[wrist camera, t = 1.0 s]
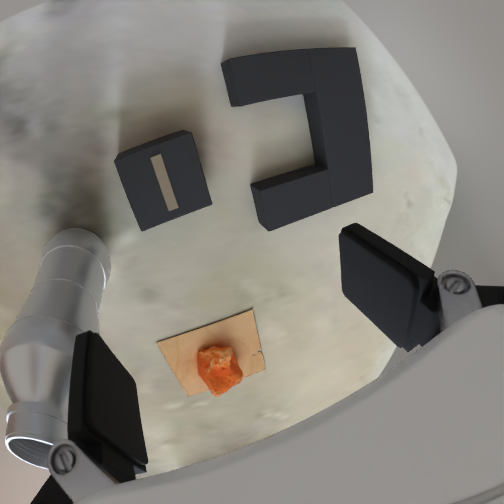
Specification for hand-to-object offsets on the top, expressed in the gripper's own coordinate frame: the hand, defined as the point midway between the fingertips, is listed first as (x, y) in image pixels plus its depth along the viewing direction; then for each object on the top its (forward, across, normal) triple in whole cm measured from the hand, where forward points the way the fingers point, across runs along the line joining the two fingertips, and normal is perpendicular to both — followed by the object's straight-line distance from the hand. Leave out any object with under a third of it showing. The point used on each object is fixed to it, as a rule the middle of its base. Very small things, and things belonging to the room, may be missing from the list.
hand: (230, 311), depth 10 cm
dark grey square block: (+18, 0, -2) cm, 18 cm away
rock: (+18, +2, +22) cm, 29 cm away
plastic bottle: (+18, +10, +2) cm, 21 cm away
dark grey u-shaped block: (+18, -14, -2) cm, 22 cm away
